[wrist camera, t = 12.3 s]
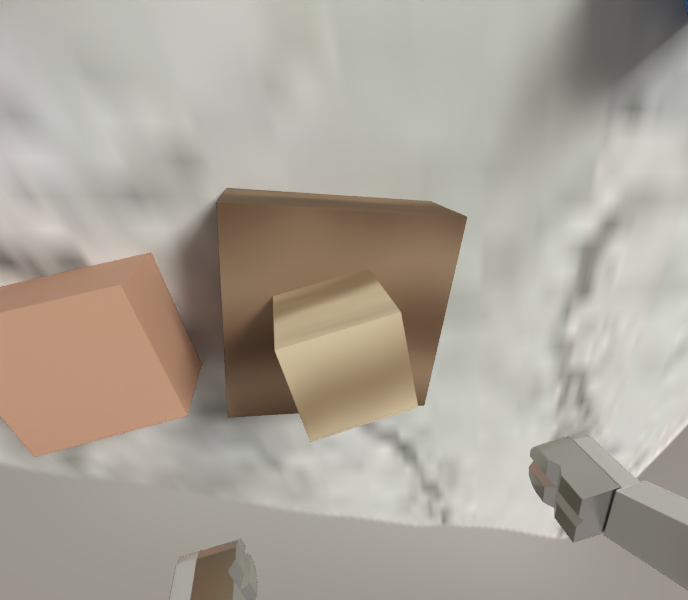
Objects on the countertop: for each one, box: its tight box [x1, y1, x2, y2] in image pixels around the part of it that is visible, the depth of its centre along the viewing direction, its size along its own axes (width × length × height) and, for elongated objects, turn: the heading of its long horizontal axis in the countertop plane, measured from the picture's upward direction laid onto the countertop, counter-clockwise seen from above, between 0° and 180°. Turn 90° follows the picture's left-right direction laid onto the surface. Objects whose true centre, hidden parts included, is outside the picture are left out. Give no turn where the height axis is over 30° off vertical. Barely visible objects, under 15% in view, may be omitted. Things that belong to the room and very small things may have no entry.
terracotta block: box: [0, 253, 202, 457], centre depth 20 cm, size 8×8×5 cm
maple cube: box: [273, 268, 418, 442], centre depth 17 cm, size 5×5×5 cm
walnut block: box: [216, 188, 467, 418], centre depth 22 cm, size 12×12×5 cm
